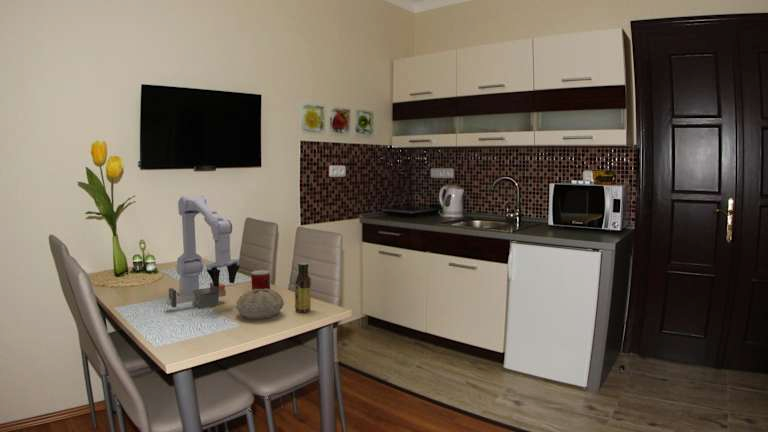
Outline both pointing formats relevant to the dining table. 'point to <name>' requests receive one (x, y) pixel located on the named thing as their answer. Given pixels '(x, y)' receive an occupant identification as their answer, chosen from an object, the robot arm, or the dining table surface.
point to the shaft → (184, 297)
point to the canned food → (260, 279)
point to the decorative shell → (259, 303)
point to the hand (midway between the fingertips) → (224, 284)
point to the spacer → (221, 287)
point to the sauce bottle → (303, 289)
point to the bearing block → (206, 297)
